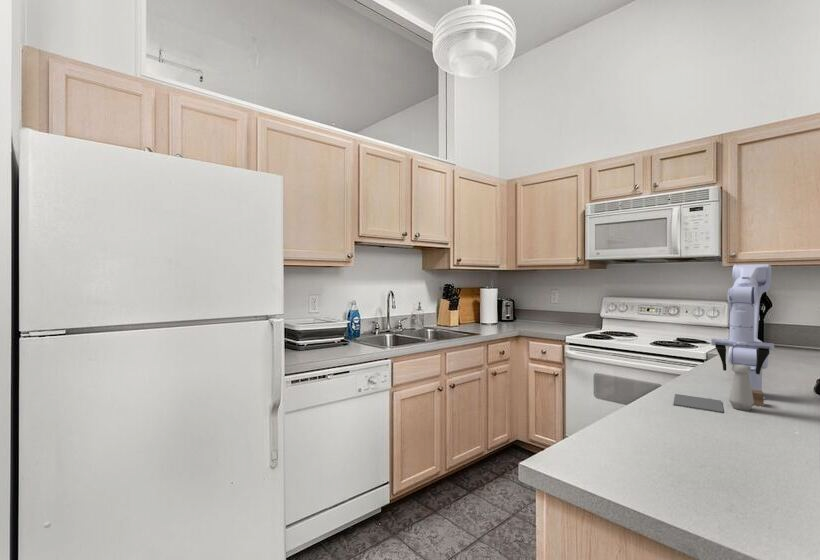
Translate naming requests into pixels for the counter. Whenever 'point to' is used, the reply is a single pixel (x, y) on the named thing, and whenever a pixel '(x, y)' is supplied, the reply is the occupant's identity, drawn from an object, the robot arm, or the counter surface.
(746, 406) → the salt shaker
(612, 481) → the counter surface
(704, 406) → the rubber mat
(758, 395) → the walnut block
